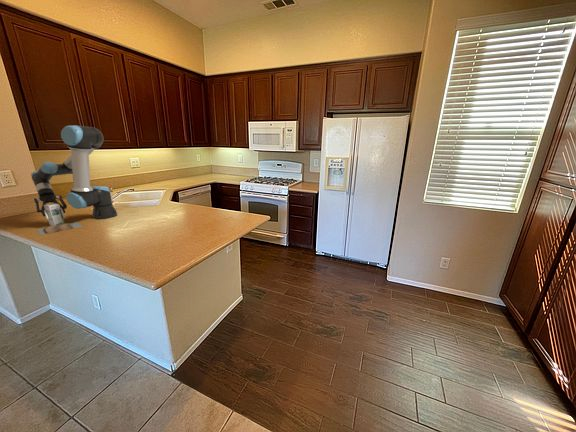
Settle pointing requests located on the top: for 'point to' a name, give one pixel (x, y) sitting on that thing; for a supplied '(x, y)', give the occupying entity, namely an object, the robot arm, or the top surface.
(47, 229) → the stand
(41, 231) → the mat
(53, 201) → the robot arm
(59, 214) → the syrup box
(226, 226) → the top surface
